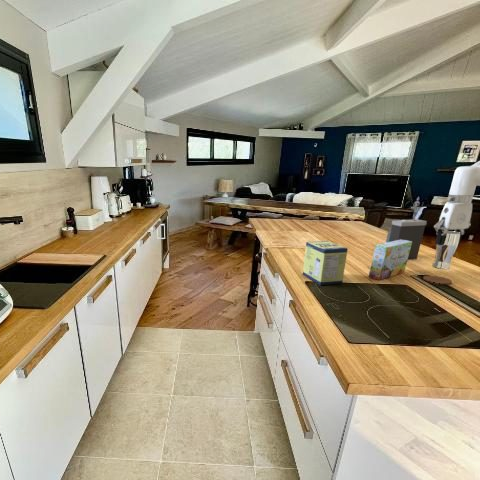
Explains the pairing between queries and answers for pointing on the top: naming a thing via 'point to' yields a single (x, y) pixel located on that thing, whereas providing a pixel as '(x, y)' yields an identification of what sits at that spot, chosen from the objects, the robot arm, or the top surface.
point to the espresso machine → (408, 234)
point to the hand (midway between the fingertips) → (447, 243)
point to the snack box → (390, 259)
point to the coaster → (437, 280)
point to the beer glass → (446, 250)
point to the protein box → (324, 262)
